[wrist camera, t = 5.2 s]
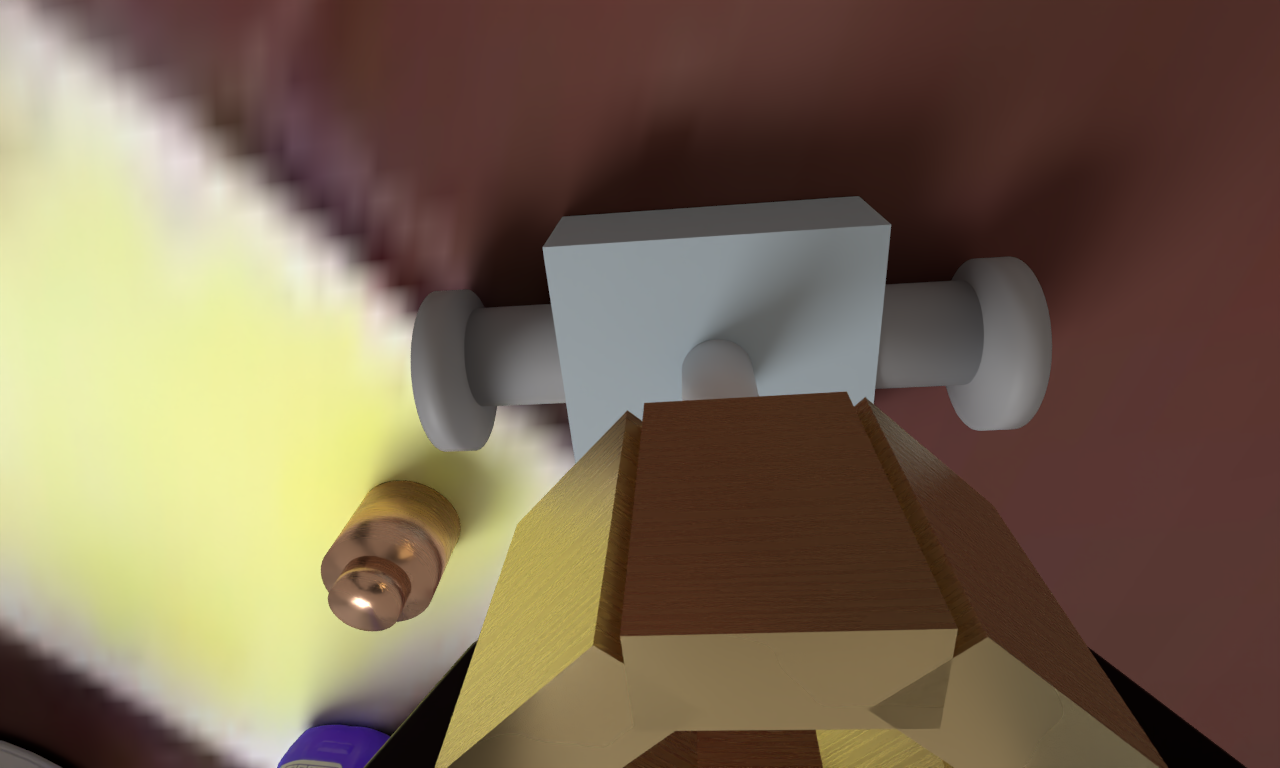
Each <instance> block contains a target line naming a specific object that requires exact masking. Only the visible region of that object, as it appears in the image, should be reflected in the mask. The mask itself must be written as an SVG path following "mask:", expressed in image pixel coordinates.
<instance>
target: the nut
mask: <svg viewBox="0 0 1280 768" xmlns="http://www.w3.org/2000/svg"><path fill="white" fill-rule="evenodd" d="M435 768H1168V767H1167V765H1166V764H1165V762H1164V761H1163V759H1162V758H1161V756H1160V755H1159V753H1158V752H1157V750H1156V749H1155V747H1154V746H1153V744H1152V743H1151V741H1150V740H1149V738H1148V737H1147V735H1146V734H1145V732H1144V731H1143V729H1142V728H1141V726H1140V725H1139V723H1138V722H1137V720H1136V719H1135V717H1134V716H1133V714H1132V713H1131V711H1130V710H1129V708H1128V707H1127V705H1126V704H1125V702H1124V701H1123V699H1122V698H1121V696H1120V695H1119V693H1118V692H1117V690H1116V689H1115V687H1114V686H1113V684H1112V683H1111V681H1110V680H1109V678H1108V677H1107V675H1106V674H1105V672H1104V671H1103V669H1102V668H1101V666H1100V665H1099V663H1098V662H1097V660H1096V659H1095V657H1094V656H1093V654H1092V653H1091V651H1090V650H1089V648H1088V647H1087V645H1086V644H1085V642H1084V641H1083V639H1082V638H1081V636H1080V635H1079V633H1078V632H1077V630H1076V629H1075V627H1074V626H1073V624H1072V623H1071V621H1070V620H1069V618H1068V617H1067V615H1066V614H1065V612H1064V611H1063V609H1062V608H1061V606H1060V605H1059V603H1058V602H1057V600H1056V599H1055V597H1054V596H1053V594H1052V593H1051V591H1050V590H1049V588H1048V587H1047V585H1046V584H1045V582H1044V581H1043V579H1042V578H1041V576H1040V575H1039V573H1038V572H1037V570H1036V569H1035V567H1034V566H1033V564H1032V563H1031V561H1030V560H1029V558H1028V557H1027V555H1026V554H1025V552H1024V551H1023V549H1022V548H1021V546H1020V545H1019V543H1018V542H1017V540H1016V539H1015V537H1014V536H1013V534H1012V533H1011V531H1010V530H1009V528H1008V527H1007V525H1006V524H1005V522H1004V521H1003V519H1002V518H1001V516H1000V515H999V513H998V512H997V510H996V509H995V507H994V506H993V505H992V504H991V503H990V502H988V501H987V500H986V499H985V498H984V497H983V496H981V495H980V494H979V493H978V492H977V491H975V490H974V489H973V488H972V487H971V486H970V485H968V484H967V483H966V482H965V481H964V480H962V479H961V478H960V477H959V476H958V475H957V474H955V473H954V472H953V471H952V470H951V469H949V468H948V467H947V466H946V465H945V464H944V463H942V462H941V461H940V460H939V459H938V458H936V457H935V456H934V455H933V454H932V453H931V452H929V451H928V450H927V449H926V448H925V447H923V446H922V445H921V444H920V443H919V442H918V441H916V440H915V439H914V438H913V437H912V436H911V435H909V434H908V433H907V432H906V431H905V430H903V429H902V428H901V427H900V426H899V425H898V424H896V423H895V422H894V421H893V420H892V419H890V418H889V417H888V416H887V415H886V414H885V413H883V412H882V411H881V410H880V409H879V408H877V407H876V406H875V405H874V404H873V403H872V402H870V401H869V400H868V399H867V398H866V397H865V398H863V399H862V400H861V401H860V402H859V403H858V404H856V405H855V406H853V404H852V401H851V399H850V397H849V395H848V393H847V392H829V393H811V394H793V395H776V396H758V397H740V398H722V399H705V400H687V401H669V402H651V403H644V410H643V419H642V421H641V420H640V419H639V418H637V417H636V416H635V415H633V414H632V413H631V412H629V411H628V410H627V411H626V412H625V413H624V414H623V415H622V416H621V417H620V418H619V419H618V420H617V422H616V423H615V424H614V425H613V426H612V427H611V428H610V429H609V430H608V431H607V432H606V433H605V434H604V435H603V436H602V437H601V438H600V439H599V440H598V441H597V442H596V443H595V444H594V445H593V446H592V447H591V448H590V449H589V451H588V452H587V453H586V454H585V455H584V456H583V457H582V458H581V459H580V460H579V461H578V462H577V463H576V464H575V465H574V466H573V467H572V468H571V469H570V470H569V471H568V472H567V473H566V474H565V475H564V476H563V477H562V478H561V480H560V481H559V482H558V483H557V484H556V485H555V486H554V487H553V488H552V489H551V490H550V491H549V492H548V493H547V494H546V495H545V496H544V497H543V498H542V499H541V500H540V501H539V502H538V503H537V504H536V505H535V506H534V508H533V509H532V510H531V511H530V512H529V513H528V514H527V515H526V516H525V517H524V518H523V519H522V520H521V521H520V522H519V523H518V524H517V527H516V530H515V533H514V536H513V538H512V541H511V544H510V547H509V550H508V553H507V556H506V559H505V562H504V565H503V568H502V571H501V574H500V577H499V580H498V583H497V586H496V589H495V591H494V594H493V597H492V600H491V603H490V606H489V609H488V612H487V615H486V618H485V621H484V624H483V627H482V630H481V633H480V636H479V639H478V642H477V645H476V647H475V650H474V653H473V656H472V659H471V662H470V665H469V668H468V671H467V674H466V677H465V680H464V683H463V686H462V689H461V692H460V695H459V698H458V700H457V703H456V706H455V709H454V712H453V715H452V718H451V721H450V724H449V727H448V730H447V733H446V736H445V739H444V742H443V745H442V748H441V751H440V754H439V756H438V759H437V762H436V765H435Z"/></svg>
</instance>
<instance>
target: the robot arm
mask: <svg viewBox="0 0 1280 768" xmlns="http://www.w3.org/2000/svg"><path fill="white" fill-rule="evenodd" d="M477 642H478V641H476V642H474V643H473V644H472V645H471V646H470V647H469V648H468V649H467V650H466V652H465V653H464V654H463V655H462V656H461V657H460V658H459V659H458V661H457V662H456V663H455V664H454V665H453V666H452V667H451V669H450V670H449V671H448V672H447V673H446V674H445V675H444V677H443V678H442V679H441V680H440V681H439V682H438V683H437V685H436V686H435V687H434V688H433V689H432V690H431V691H430V692H429V694H428V695H427V696H426V697H425V698H424V699H423V700H422V702H421V703H420V704H419V705H418V706H417V707H416V708H415V710H414V711H413V712H412V713H411V714H410V715H409V716H408V718H407V719H406V720H405V721H404V722H403V723H402V724H401V726H400V727H399V728H398V729H397V730H396V731H395V732H394V733H393V735H392V736H391V737H390V738H389V739H388V740H387V741H386V743H385V744H384V745H383V746H382V747H381V748H380V749H379V751H378V752H377V753H376V754H375V755H374V756H373V757H372V759H371V760H370V761H369V762H368V763H367V764H366V765H365V766H364V768H435V765H436V762H437V759H438V756H439V754H440V751H441V748H442V745H443V742H444V739H445V736H446V733H447V730H448V727H449V724H450V721H451V718H452V715H453V712H454V709H455V706H456V703H457V700H458V698H459V695H460V692H461V689H462V686H463V683H464V680H465V677H466V674H467V671H468V668H469V665H470V662H471V659H472V656H473V653H474V650H475V647H476V645H477ZM1087 647H1088V646H1087ZM1088 648H1089V647H1088ZM1089 650H1090V651H1091V653H1092V654H1093V656H1094V657H1095V659H1096V660H1097V662H1098V663H1099V665H1100V666H1101V668H1102V669H1103V671H1104V672H1105V674H1106V675H1107V677H1108V678H1109V680H1110V681H1111V683H1112V684H1113V686H1114V687H1115V689H1116V690H1117V692H1118V693H1119V695H1120V696H1121V698H1122V699H1123V701H1124V702H1125V704H1126V705H1127V707H1128V708H1129V710H1130V711H1131V713H1132V714H1133V716H1134V717H1135V719H1136V720H1137V722H1138V723H1139V725H1140V726H1141V728H1142V729H1143V731H1144V732H1145V734H1146V735H1147V737H1148V738H1149V740H1150V741H1151V743H1152V744H1153V746H1154V747H1155V749H1156V750H1157V752H1158V753H1159V755H1160V756H1161V758H1162V759H1163V761H1164V762H1165V764H1166V765H1167V767H1168V768H1247V767H1245V766H1244V765H1243V764H1241V763H1240V762H1239V761H1237V760H1236V759H1235V758H1233V757H1232V756H1231V755H1230V754H1228V753H1227V752H1226V751H1224V750H1223V749H1222V748H1220V747H1219V746H1218V745H1216V744H1215V743H1214V742H1212V741H1211V740H1210V739H1208V738H1207V737H1206V736H1205V735H1203V734H1202V733H1201V732H1199V731H1198V730H1197V729H1195V728H1194V727H1193V726H1191V725H1190V724H1189V723H1187V722H1186V721H1185V720H1183V719H1182V718H1181V717H1180V716H1178V715H1177V714H1176V713H1174V712H1173V711H1172V710H1170V709H1169V708H1168V707H1166V706H1165V705H1164V704H1162V703H1161V702H1160V701H1159V700H1157V699H1156V698H1155V697H1153V696H1152V695H1151V694H1149V693H1148V692H1147V691H1145V690H1144V689H1143V688H1141V687H1140V686H1139V685H1137V684H1136V683H1135V682H1134V681H1132V680H1131V679H1130V678H1128V677H1127V676H1126V675H1124V674H1123V673H1122V672H1120V671H1119V670H1118V669H1116V668H1115V667H1114V666H1112V665H1111V664H1110V663H1109V662H1107V661H1106V660H1105V659H1103V658H1102V657H1101V656H1099V655H1098V654H1097V653H1095V652H1094V651H1093V650H1091V649H1090V648H1089Z"/></svg>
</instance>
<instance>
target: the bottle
mask: <svg viewBox="0 0 1280 768" xmlns="http://www.w3.org/2000/svg"><path fill="white" fill-rule="evenodd" d="M389 738H390V736H388V735H387V734H384V733H382V732H380V731H377V730H374V729H371V728H367V727H359V726H348V725H339V724H337V725H324V726H318V727H314V728H309V729H308V730H306V731H305V732H304V733H303V734H302V735H301V736H300V737H299V738H298V739H297V740H296V741H295V743H294V744H293V745H292V746H291V747H290V748H289V750H288V751H287V752H286V754H285V755H284V756H283V758H282V759H281V761H280V763H279V764H278V767H277V768H364V766H365V765H366V764H367V763H368V762H369V761H370V760H371V759H372V757H373V756H374V755H375V754H376V753H377V752H378V751H379V749H380V748H381V747H382V746H383V745H384V744H385V743H386V741H387V740H388V739H389Z"/></svg>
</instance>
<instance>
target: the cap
mask: <svg viewBox="0 0 1280 768" xmlns="http://www.w3.org/2000/svg"><path fill="white" fill-rule="evenodd" d="M459 535H460V520H459V517H458V514H457V512H456V510H455V509H454V507H453V506H452V504H451V503H450V502H449V501H448V500H447V499H446V498H445V497H444V496H443V495H441V494H440V493H438V492H437V491H435V490H434V489H432V488H430V487H428V486H425V485H423V484H420V483H416V482H411V481H390V482H386V483H383V484H380V485H378V486H376V487H375V488H373V489H372V490H371V491H370V492H369V493H368V494H367V495H366V497H365V498H364V500H363V501H362V502H361V504H360V505H359V507H358V508H357V510H356V511H355V513H354V514H353V516H352V517H351V519H350V520H349V522H348V523H347V524H346V526H345V527H344V529H343V530H342V532H341V533H340V535H339V536H338V538H337V539H336V541H335V542H334V543H333V545H332V546H331V548H330V549H329V551H328V552H327V554H326V555H325V557H324V559H323V561H322V565H321V576H322V580H323V583H324V585H325V587H326V589H327V590H328V592H329V595H328V603H329V606H330V608H331V610H332V612H333V613H334V614H335V615H336V616H337V617H338V618H339V619H340V620H341V621H342V622H344V623H346V624H347V625H349V626H351V627H354V628H357V629H360V630H364V631H381V630H385V629H387V628H389V627H391V626H393V625H394V624H395V623H396V622H399V621H404V620H408V619H411V618H413V617H416V616H417V615H419V614H421V613H422V612H423V611H424V610H425V609H426V608H427V607H428V606H429V604H430V602H431V600H432V598H433V595H434V593H435V591H436V588H437V586H438V584H439V582H440V579H441V577H442V575H443V573H444V570H445V568H446V566H447V563H448V561H449V559H450V557H451V554H452V552H453V550H454V548H455V545H456V543H457V541H458V538H459Z"/></svg>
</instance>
